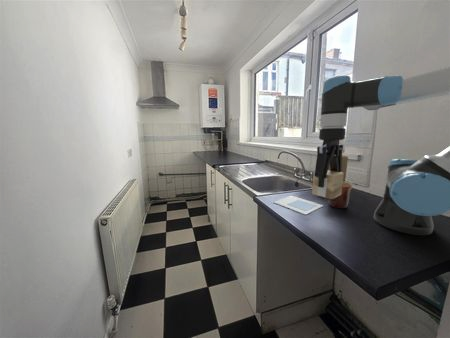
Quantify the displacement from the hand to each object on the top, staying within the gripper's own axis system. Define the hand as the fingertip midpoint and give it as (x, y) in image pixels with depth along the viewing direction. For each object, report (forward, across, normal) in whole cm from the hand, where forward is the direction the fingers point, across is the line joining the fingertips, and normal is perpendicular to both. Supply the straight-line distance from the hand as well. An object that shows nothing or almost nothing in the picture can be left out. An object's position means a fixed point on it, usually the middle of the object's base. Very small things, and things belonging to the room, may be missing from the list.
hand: (326, 193), depth 66 cm
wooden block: (+11, -36, -15) cm, 40 cm away
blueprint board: (+10, -6, -15) cm, 19 cm away
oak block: (0, 0, 0) cm, 0 cm away
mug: (+11, -17, -4) cm, 20 cm away
